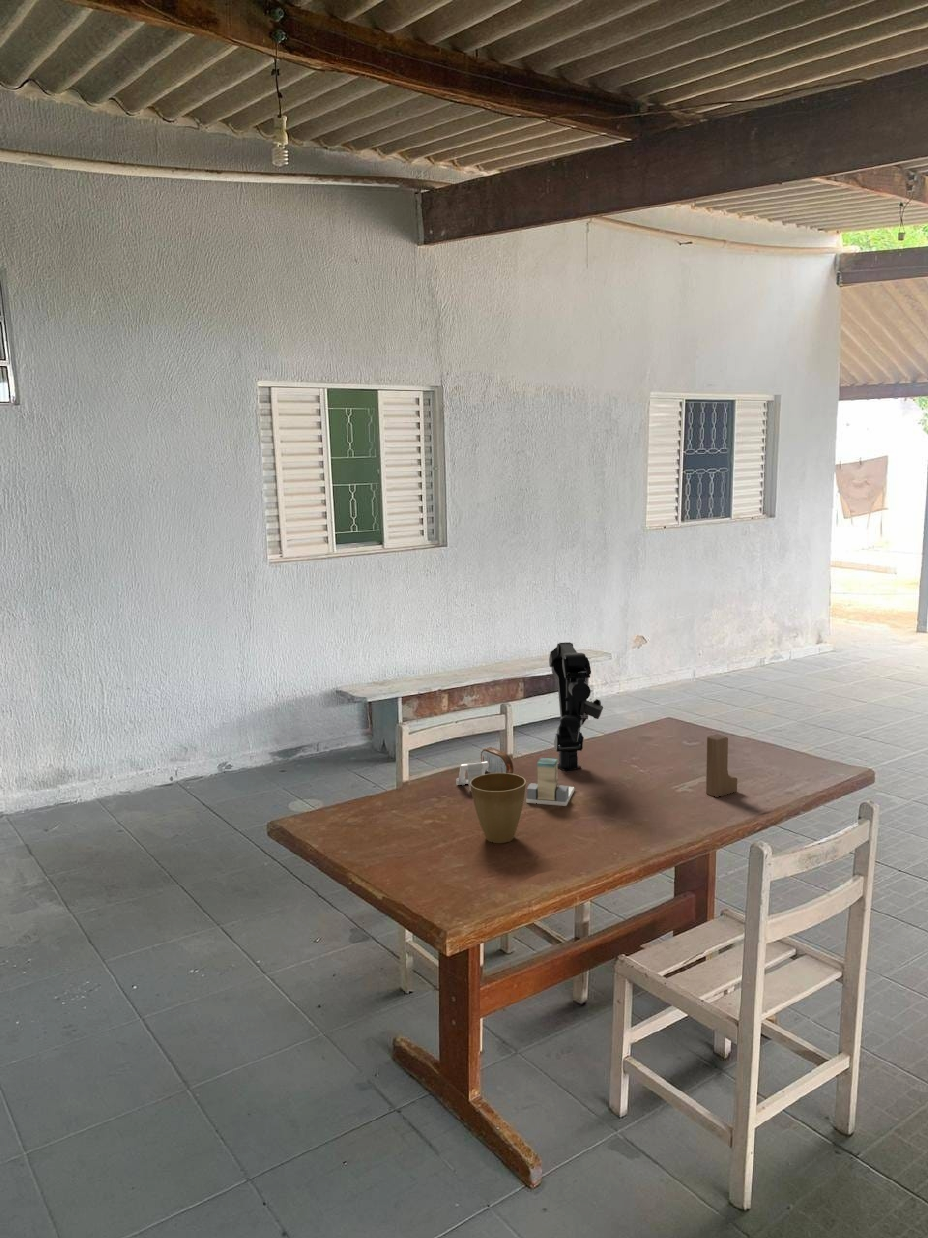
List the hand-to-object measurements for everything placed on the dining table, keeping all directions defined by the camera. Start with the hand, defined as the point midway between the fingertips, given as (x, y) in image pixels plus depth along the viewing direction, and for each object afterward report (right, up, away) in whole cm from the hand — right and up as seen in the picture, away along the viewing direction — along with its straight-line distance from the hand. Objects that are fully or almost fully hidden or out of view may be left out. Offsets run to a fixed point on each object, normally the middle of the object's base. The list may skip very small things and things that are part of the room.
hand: (575, 741), depth 290 cm
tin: (-25, -12, +10) cm, 29 cm away
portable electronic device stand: (-32, -14, -1) cm, 35 cm away
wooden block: (+43, -14, -12) cm, 47 cm away
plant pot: (-26, -21, -42) cm, 53 cm away
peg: (-10, -14, -15) cm, 23 cm away
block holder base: (-9, -15, -11) cm, 21 cm away
